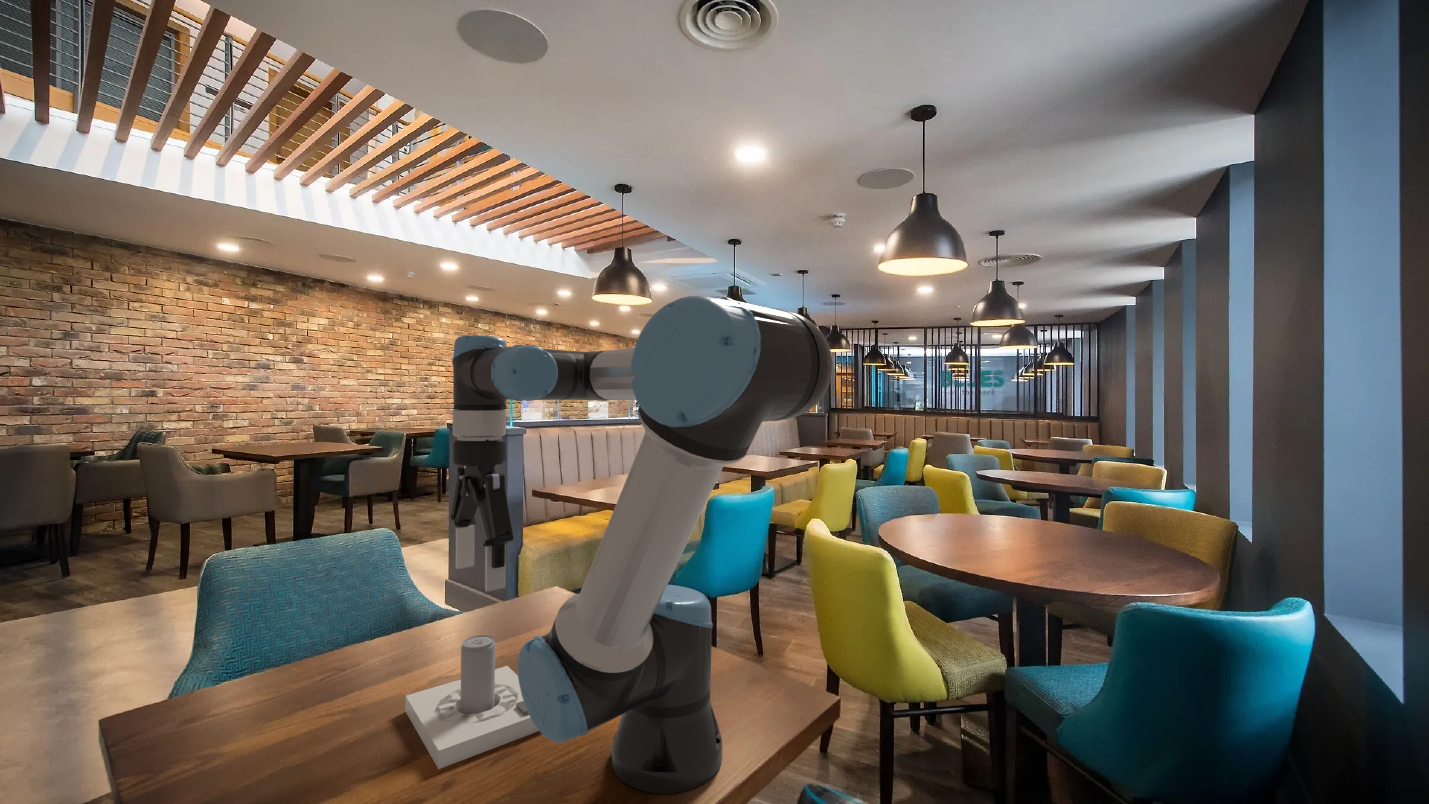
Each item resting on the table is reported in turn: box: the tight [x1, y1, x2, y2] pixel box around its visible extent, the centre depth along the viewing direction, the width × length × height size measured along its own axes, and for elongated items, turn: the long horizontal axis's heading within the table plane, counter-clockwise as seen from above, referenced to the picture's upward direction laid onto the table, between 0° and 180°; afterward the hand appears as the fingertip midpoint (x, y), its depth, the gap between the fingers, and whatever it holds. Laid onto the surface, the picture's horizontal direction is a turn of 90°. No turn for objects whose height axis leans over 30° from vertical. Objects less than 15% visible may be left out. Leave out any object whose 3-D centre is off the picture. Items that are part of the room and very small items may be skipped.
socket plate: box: [404, 665, 540, 770], centre depth 89 cm, size 18×16×3 cm
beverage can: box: [460, 634, 496, 715], centre depth 89 cm, size 5×5×12 cm
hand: (479, 577), depth 89 cm, fingers open, 13 cm apart
